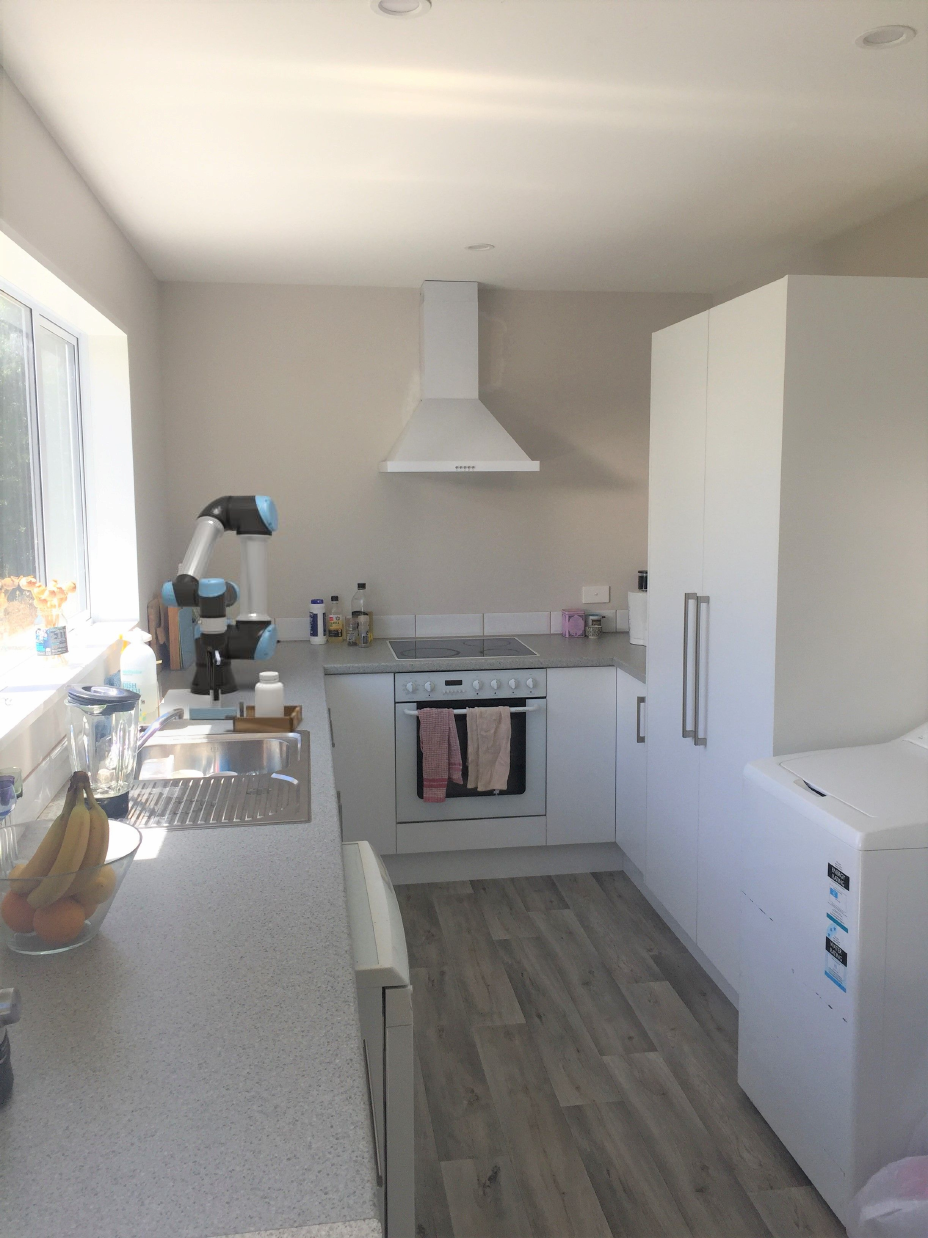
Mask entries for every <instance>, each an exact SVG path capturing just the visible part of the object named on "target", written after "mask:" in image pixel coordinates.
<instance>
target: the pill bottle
mask: <svg viewBox="0 0 928 1238" xmlns="http://www.w3.org/2000/svg"><path fill="white" fill-rule="evenodd" d="M279 676H280V675H279V672H277V671H263V672H259V675H258V677H259V682H257V683H256V684H255V686H254V705H255V717H284V705H285V700H284V699H285V696H284V694H285V690H284V689H285V688H284V684H283V683H282V682H281V681H279V680H280V679H279V678H280V677H279Z"/></svg>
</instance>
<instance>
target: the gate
mask: <svg viewBox="0 0 928 1238" xmlns="http://www.w3.org/2000/svg"><path fill="white" fill-rule="evenodd" d="M188 713H189V714H188V715H189V716H188V717H189V718H188V719H190V720H193V719H194V720H206V719H207V720H219V719H220V720H223V719H224V720H226V719H225V716H226V715H237V716H238V708H237V707H221V708H211V707H189V709H188Z"/></svg>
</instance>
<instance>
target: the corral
mask: <svg viewBox="0 0 928 1238" xmlns="http://www.w3.org/2000/svg"><path fill="white" fill-rule="evenodd" d="M238 706H239V716H238V714H237V715H226V716H225V719H224V720H232V733H294V731H296V729H297V727H298V726H299V724H300V723H301V721H302V720H303V705H299V704H295V705H288V704H287V705H285V704H284V717H255V704H254V705H252V704H251V705H250V704H249V705H244V702H243V701H240V702H239V704H238ZM244 706H245V707H244ZM244 710H245V711H244Z"/></svg>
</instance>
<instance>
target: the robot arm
mask: <svg viewBox="0 0 928 1238" xmlns="http://www.w3.org/2000/svg"><path fill="white" fill-rule="evenodd" d="M277 510H278V509H277V507H276V504H275V502H274V500H273V499H272V498H271V497H269V496H268V495H267V496H266V495H258V494H257V495H224V496H223V495H222V496H220V497H218V498H216V499H214V500H212V501H210V502H209V503H208V504H207V505H206V506H205V507H203V509H201V511H200V512H199V514H198V516H197V518H196V520H195V522H194V529H195V531H194V533H193V536H192V539H191V540H190V543H189V545H188V548H187V550H186V553H185V556H184V558H183V560H182V563H181V565H180V568H179V570H178V572H177V575H176V577H175V579H174V581H167V582H165V583H163V585H162V588H161V600H162V602H163V604H164V606H165V607H169V608H171V607H173V608H179V609H180V608H199V609H198V610H199V620H198V621H197V625H195V626H194V637H193V640H194V662H195V663H194V664H195V668H194V669H195V670H194V672H193V675H192V678H191V681H190V682H191V683H190V693H193V694H197V695H209V696H210V697H209V700H210V701H209V703H210V705H209V706H210V708H222V705H221V704H222V703H221V702H222V701H221V698H222V697H221V694H228V693H232V692H236V691H237V690H238V681H237V678H236V674H235V673H234V670H233V668H232V667H233V666H232V661H233V660H236V661H237V660H238V661H239V660H240V661H242V660H243V661H245V660H247V661H256V662H257V661H264V660H269V659H270V658H271V657H272V656H273V655H274V652H275V650H276V647H277V642H278V629H277V626H276V625H275V624H273V623H272V618H271V617H270V616H269V615H268V609H267V608H268V607H267V606H268V542H269V540H272V538H273V532H276V531H278V527H279V526H278V525H279V515H278V511H277ZM230 531H231V532H235V537H236V538H237V539H238V540H239V541H240V588H239V586H238V585H237V584H236V583H234V582H231V581H225V579H224V578H221V577H214V578H213V577H210V578H209V577H208V578H204V576H205V573H206V571H207V568H208V566H209V563H210V560H211V559H212V555H213V553H214V550H215V548H216V546H217V543H218V540H219V539H221V538H222V537H223V535H224V534H225V532H230ZM239 599H240V604H239V606H240V607H239V611H240V613H239V615H238V616H237V617H236V618H235V624H232V622H231V620H230V619H228V618H227V608H230V607H233V606H234V605H235V604H236V603H238V602H239Z"/></svg>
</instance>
